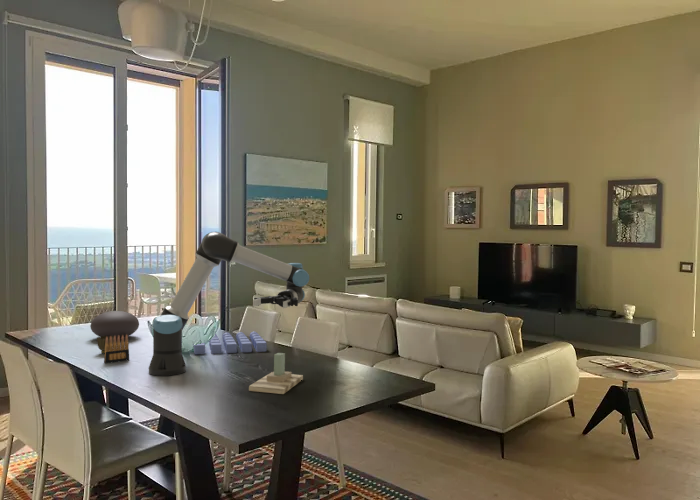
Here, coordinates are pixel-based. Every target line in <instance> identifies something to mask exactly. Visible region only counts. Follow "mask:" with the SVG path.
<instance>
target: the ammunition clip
mask: <svg viewBox="0 0 700 500" xmlns="http://www.w3.org/2000/svg"><path fill="white" fill-rule="evenodd" d="M127 360H128V361H130V350H129V336H128V335H127V334H126V337H124V336H123V335H122V338H120V336H119V335H118V339H116V336H114V339H113V344H112V337H111V336H110V340H109V344H108V337H106V341H105V354H104V359H103V362H104V363H105V364H111V362H112V363H119V362H118V361H120V362H126V361H127Z"/></svg>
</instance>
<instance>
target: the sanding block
mask: <svg viewBox="0 0 700 500" xmlns="http://www.w3.org/2000/svg"><path fill="white" fill-rule="evenodd" d="M285 367H286V352H285V353H284V352H277V353H274V354H273V371H271V372H272V373H271V372H270V373H271V374H270V373H268V374H269V375H268V374H266V375H267V381H273V382H285V381H286V380H288V379H289V378H290V377H291V374H292V371H286V370H285V369H286V368H285Z"/></svg>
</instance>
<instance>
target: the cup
mask: <svg viewBox="0 0 700 500" xmlns="http://www.w3.org/2000/svg"><path fill="white" fill-rule="evenodd" d="M106 337H107V336H106ZM106 337H105V336H103V337H102V336H101V337H99V336H97V337H96V343H97V348H98V349H99V351H100V353H101V354H102V353H105V341H106ZM111 337H112V344H113V340H114V339H113V338H114V337H113V336H111ZM109 340H110V337H108V344H109Z"/></svg>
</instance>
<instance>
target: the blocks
mask: <svg viewBox="0 0 700 500" xmlns="http://www.w3.org/2000/svg"><path fill="white" fill-rule="evenodd" d="M235 338H236V340H235V339H234V337H233V336H232V334H231V333H230V332H227V331H226V332H224V333H223V334H222V336H221V339H222V342H223V345H224V349H225V352H226V354H232V353H233V354H235V353H237V352H238V350H237V349H238V347H239V349H240V352H241V353H253V352H252V351H253V350H252V349H253V348H254V349H255V352H258V353H259V352H267V341H266V340H265V339H264V338H263V337H262V336H261V335H260V334H259V333H258V332H256V331H252V332H250V334H249V337H248V336H247V335H246V334H245V333H244V332H242V331H239V332H237V333H236V335H235ZM236 341H237V342H236ZM208 342H209V349H210V354H222V342H221V340H220V338H219V337H218V335H217V333H215V336H214V337H213V338H212V339H211V340H210V341H209V340H208ZM252 347H253V348H252ZM193 352H194V355H205V354H206V344H205V342H204V343H201V344H197V345H194V344H193Z"/></svg>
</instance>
